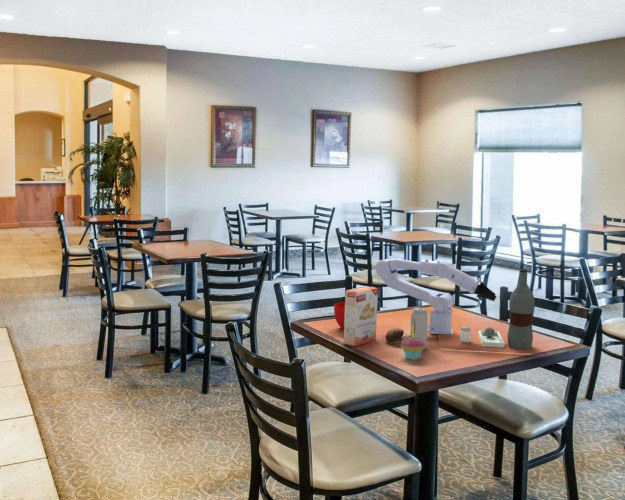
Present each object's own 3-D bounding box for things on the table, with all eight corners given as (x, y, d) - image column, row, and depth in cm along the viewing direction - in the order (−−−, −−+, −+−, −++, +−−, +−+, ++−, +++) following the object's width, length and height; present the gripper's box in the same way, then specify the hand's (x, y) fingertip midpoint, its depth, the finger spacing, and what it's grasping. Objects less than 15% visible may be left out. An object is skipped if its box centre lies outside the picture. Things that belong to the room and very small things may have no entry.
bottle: (537, 348, 245) (542, 270, 241) (521, 352, 240) (525, 271, 236) (517, 343, 252) (522, 266, 249) (501, 346, 248) (505, 268, 244)
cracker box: (355, 347, 243) (357, 292, 240) (342, 344, 247) (344, 290, 244) (377, 340, 254) (378, 287, 251) (364, 337, 257) (366, 285, 255)
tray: (482, 347, 245) (482, 342, 245) (478, 335, 262) (478, 330, 262) (504, 349, 244) (504, 343, 243) (498, 337, 261) (498, 331, 261)
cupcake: (398, 354, 234) (399, 321, 233) (421, 354, 235) (422, 321, 234) (403, 361, 226) (404, 327, 224) (427, 361, 227) (428, 327, 225)
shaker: (460, 343, 250) (460, 328, 250) (459, 341, 254) (460, 326, 254) (470, 344, 250) (471, 329, 249) (469, 341, 254) (470, 326, 253)
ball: (484, 338, 257) (485, 328, 256) (483, 335, 261) (484, 325, 260) (495, 338, 256) (495, 328, 256) (493, 336, 260) (494, 326, 259)
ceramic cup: (378, 328, 273) (378, 304, 271) (347, 334, 262) (347, 309, 261) (357, 322, 283) (358, 299, 282) (327, 327, 273) (327, 304, 271)
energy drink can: (407, 346, 245) (408, 307, 243) (420, 345, 247) (422, 306, 245) (415, 351, 239) (417, 311, 237) (429, 349, 241) (431, 310, 240)
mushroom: (410, 333, 252) (401, 321, 250) (406, 345, 245) (397, 333, 244) (393, 340, 256) (384, 328, 255) (389, 352, 250) (380, 340, 248)
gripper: (467, 269, 254) (499, 286, 249) (470, 275, 267) (500, 291, 263) (458, 284, 254) (489, 302, 249) (461, 289, 267) (491, 306, 262)
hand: (494, 297), depth 256 cm, fingers open, 7 cm apart
